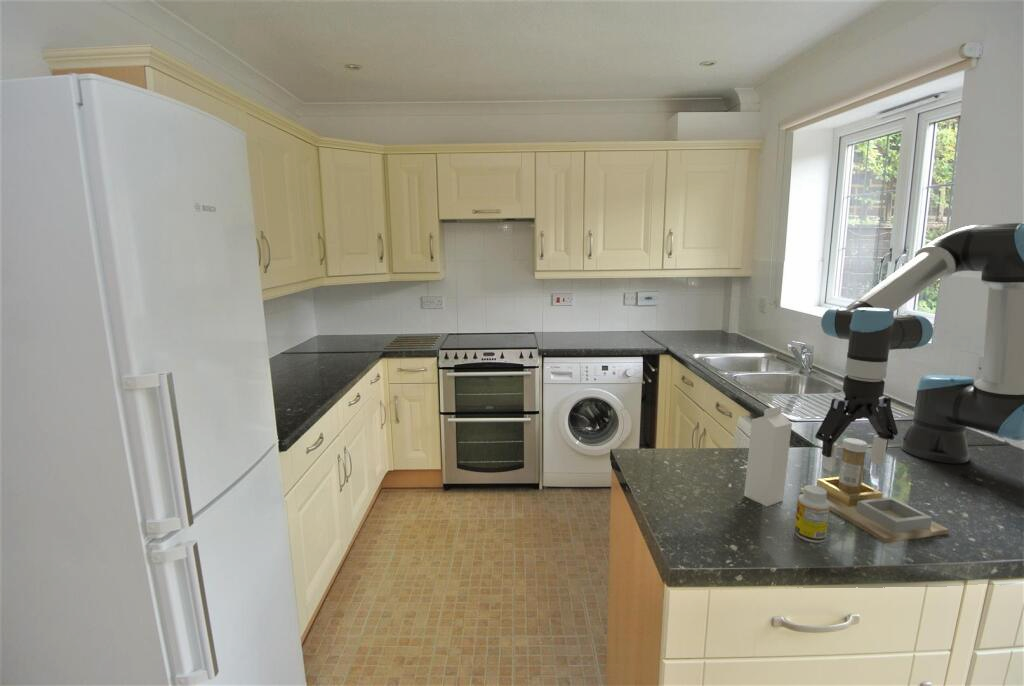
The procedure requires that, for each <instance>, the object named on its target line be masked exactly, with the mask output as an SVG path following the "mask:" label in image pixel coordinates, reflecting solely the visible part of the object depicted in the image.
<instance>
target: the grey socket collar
mask: <svg viewBox="0 0 1024 686" xmlns="http://www.w3.org/2000/svg"><path fill="white" fill-rule="evenodd" d="M887 510H891V511H893V512H895V513H897V514H898V515H900V516H902V517H904V518H900V519H895V518H893V517H891V516H889V515H888V514H886V513H884V512H882V511H887ZM856 512H858V513H860V514H861V515H863V516H865V517H867V518H868V519H870V520H872V521H874V522H876V523H877V524H879V525H881V526H883V527H884V528H886V529H888V530H890V531H891V532H893V533H902V532H909V531H917V530H924V529H930V527H931V522H932V521H933V517H932V516H930V515H928V514H926V513H924V512H922V511H920V510H918V509H916V508H914V507H912V506H910V505H908V504H906V503H905V502H902V501H900V500H898V499H896V498H894V497H892V496H890V497H889V496H886V498H878V499H869V500H861V501H858V502H857V509H856Z"/></svg>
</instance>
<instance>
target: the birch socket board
mask: <svg viewBox="0 0 1024 686" xmlns="http://www.w3.org/2000/svg"><path fill="white" fill-rule="evenodd" d="M803 491H804V487H800V489H799V493H801V494H802V493H803ZM882 498H887V496H884V495H882ZM826 499H827V500H828V501H829V502H830V510H829V511H831V512H833V514H835V515H838V516H839V517H841V518H842V519H844V520H845V521H848V522H849V523H851V524H853V525H855V527H857V528H859V529H860V530H863V531H864V532H866V533H868V534H870V535H871V536H873V537H875V538H876V539H878V540H880V541H881V542H883V543H891V542H893V543H894V542H901V541H906V540H912V539H913V540H914V539H921V538H928V537H935V536H943V535H949V531H950V530H949V529H948V528H947V527H945V526H943V525H941V524H939V523H936V522H935V521H933V520H932V522H931V527H930V529H924V530H917V531H909V532H902V533H893V532H891V531H890V530H888V529H886V528H884V527H883V526H881V525H879V524H877V523H876V522H874V521H872V520H870V519H868V518H867V517H865V516H863V515H861V514H860V513H858V512H856V509H857V506H853V507H847V506H846V505H844V504H842V503H840V502H839V501H837V500H835V499H833V498H832V497H830V496H828V495H827V497H826ZM882 512H884V513H886V514H888V515H889V516H891V517H893V518H895V519H900V518H904V517H902V516H900V515H898V514H897V513H895V512H893V511H891V510H887V511H882Z"/></svg>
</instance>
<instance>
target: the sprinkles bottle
mask: <svg viewBox="0 0 1024 686" xmlns="http://www.w3.org/2000/svg"><path fill="white" fill-rule="evenodd" d="M867 450H868V443H867V442H866V441H865V440H862V439H859V438H853V437H847V438H844V439H843V441H842V456H841V461H840V469H839V476H838V477H839V485H838V488H839V489H841V490H843V491H845V492H847V493H849V494H855V493H860V488H861V484H862V483H863V477H864V476H863V475H864V473H863V472H864V465H865V458H866V453H867Z"/></svg>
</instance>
